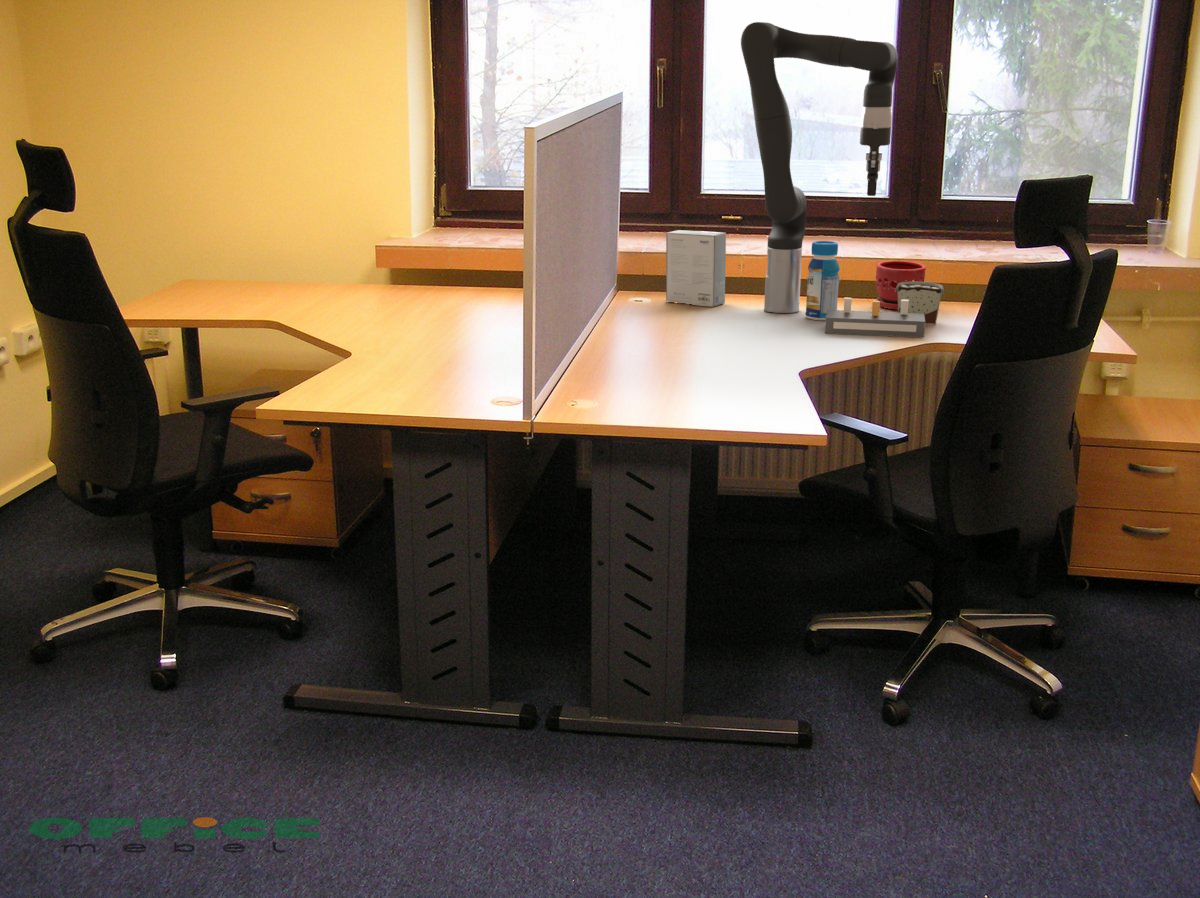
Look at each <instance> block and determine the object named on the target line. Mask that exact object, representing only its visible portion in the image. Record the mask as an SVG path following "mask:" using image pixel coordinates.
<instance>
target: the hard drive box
mask: <svg viewBox="0 0 1200 898" xmlns="http://www.w3.org/2000/svg"><path fill="white" fill-rule="evenodd" d="M665 235H666V236H665V237H666V239H665V241H666V243H665V244H666V245H665V246H666V249H665V250H666V253H665V256H666V258H665V259H666V260H665V261H666V262H665V269H666V270H665V272H666V273H665V274H666V275H665V278H666V279H665V282H666V285H665V287H666V288H665V291H666V293H665V299H666V300H665V301H668V302H667V303H669V302H677V303H686V304H685V305H689V304H692V305H691V306H699V307H710V308H713V307H716V306H719V305H723V304H725V303H726V261H727V260H726V258H727V257H726V253H727V251H726V250H727V249H726V248H727V247H726V246H727V232H724V231H723V232H722V231H720V232H719V231H718V232H717V231H707V230H706V231H703V230H687V229H686V230H685V229H684V230H681V229H678V230H673V231H668V232H666V234H665ZM677 303H676V304H677Z"/></svg>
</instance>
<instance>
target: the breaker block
mask: <svg viewBox="0 0 1200 898" xmlns="http://www.w3.org/2000/svg"><path fill="white" fill-rule="evenodd" d="M824 324H825V326H824V334H829V335H830V334H831V335H854V336H856V335H857V336H859V335H860V336H881V337H883V336H884V337H904V338H905V337H906V338H922V337H924V338H925V329H926V324H925V316H924V314H921V313H908V315H903V314H900V313H898V312H896V311H895V312H890V311H888V312H887V311H879V316H872V311H870V310H869V311H866V310H865V311H863V310H851V312H844V309H843V310H841V309H840V310H838V309H837V310H828V311H827V315H826V320H825V323H824Z"/></svg>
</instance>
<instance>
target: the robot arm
mask: <svg viewBox="0 0 1200 898" xmlns="http://www.w3.org/2000/svg"><path fill="white" fill-rule="evenodd" d="M740 48H741V54H742V56H743V60H744V64H745V69H746V73H747V77H748V81H749V86H750V95H751V103H752V110H753V117H754V125H755V133H756V137H757V143H758V149H759V155H760V156H759V157H760V162H761V165H762V172H763V183H764V185H763V187H764V203H765V210H766V214H767V215H768V217H769V219H771V220H772V223H771V224H772V226H771V230H770V233H769V235H768V237H767V251H766V252H767V254H766V255H767V257H766V276H765V280H764V281H765V283H764V301H763V302H764V304H763V305H764V307H763V309H764V310H763V312H770V313H775V314H776V313H777V314H792V313H797V312H799V310H800V297H801V296H800V295H801V280H802V279H801V276H802V257H803V256H802V254H803V253H802V252H803V240H804V237H805V233H806V226H807V223H806V222H807V209H808V207H807V205H808V204H807V198H806V195H805V193H804V191H803V190H801V188H799V187H797V186H794V183H793V179H792V173H791V155H792V148H793V147H792V146H793V130H792V129H793V126H792V120H791V119H792V118H791V113H790V110H789V105H788V103H787V99H786V97H785V94H784V92H783V90H782V88H781V86H780V83H779V80H778V77H777V72H776V64H775V59H783V58H784V59H787V58H789V59H799V60H800V59H801V60H804V61H805V60H806V61H809V62H813V63H819V64H822V65H827V66H834V67H841V68H843V67H844V68H853V69H858V70H863V71H867V72H869V73H868V80H867V83H866V85H865V86H864V89H863V100H862V101H863V103H862V112H861V116H860V117H861V118H860V132H859V133H860V134H859V144H860V146H866V147H867V146H868V147H869V152H865V160H866V165H865V171H866V172H867V175H866V179H867V191H866V194H867V196H868V197H875V196H876V194H877V183H878V179H879V172H880V170H881V161H882V160H883V157H882V156H883V152H880V147H881V146H884V147H885V146H889V145H890V144H891V135H892V119H893V118H892V117H893V115H892V114H893V113H892V103H893V89H894V88H893V87H894V84H895V83H894V82H895V78H896V74H897V68H898V61H899V60H898V58H899V57H898V52H897V49H896V47H895V46H894V45H893V44H892V43H889V42H888V41H887V42H886V41H872V40H859V39H855V38H851V37H846V36H845V37H844V36H837V35H830V34H829V35H828V34H814V33H813V34H812V33H811V34H810V33H802V32H797V31H793V30H790V29H787V28H783V27H781V26H777V25H775V24H774V23H770V22H764V21H763V22H761V21H755V22H751V23H749V24H748V25H747V26H746V27H744V30H743V31H742V32H741V37H740Z"/></svg>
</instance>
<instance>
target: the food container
mask: <svg viewBox="0 0 1200 898" xmlns="http://www.w3.org/2000/svg"><path fill="white" fill-rule="evenodd" d="M896 291H898V310H897V313H900V311H901V300H909V305H908V313H921V314H924V316H925V325H933V326H934V325H936V324H937V319H938V315H939V314H938V313H939V309H940V304H941V299H942V296H943V295H945V290H944V286H943V284H940V283H936V282H929V281H924V282H914V281H912V282H902V283H899V284H898V285H897V287H896V290H895V292H896Z"/></svg>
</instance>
